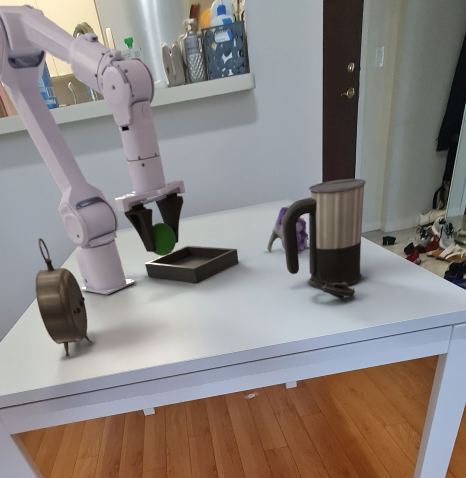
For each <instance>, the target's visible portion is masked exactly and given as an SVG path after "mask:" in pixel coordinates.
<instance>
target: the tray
mask: <svg viewBox="0 0 466 478" xmlns="http://www.w3.org/2000/svg"><path fill="white" fill-rule="evenodd" d="M238 254H239V253H238V249H237V248H229V247H228V248H227V247H216V246H215V247H214V246H200V245H199V246H197V245H185V246H183V247H180V248H178V249H176V250H173V251H172V252H171V253H169V254H168V255H165V256H159V257H157V258H154V259H152V260H149V261H147V262H144V266H145V269H146V274H147V277H148V278H155V279H156V278H157V279H162V280H163V279H164V280H171V281H178V282H186V283H193V284H198V283H201V282H202V281H204V280H206V279H208V278H210V277H212V276H214V275H216V274H219V273H221V272H223V271H225V270H226V269H227V270H228V269H229V268H231V267H233V266H235V265H237V264H239V255H238Z"/></svg>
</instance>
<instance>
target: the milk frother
mask: <svg viewBox="0 0 466 478" xmlns="http://www.w3.org/2000/svg"><path fill="white" fill-rule="evenodd" d="M366 184H367V180H365V179H362V178H345V179H336V180H329V181H324V182H320V183H316V184H313V185H311V186H309V187H308V190H309V191H310V195H311V196H310V197H306V198H302V199H298V200H296V201H294V202H293V203H292V204H290V205H289V208H288V207H287V208H288V209H287V211H286V212H285V214H284V217H283V236H284V245H285V249H284V253H285V262H286V269H287V271H288V272H289V273H290V274H291V275H296V274H298V273H299V270H300V261H299V251H298V246H297V234H296V223H297V220H298V219H299V217H300V218H301V217H302V216H304V215H306V214H308V242H309V243H308V244H309V245H308V247H309V249H308V250H309V251H308V253H309V255H308V256H309V262H308V263H309V268H308V269H309V274H310V279H309V278H308V281H307V284H308V285H309V286H310V287H312V288H314V289H317V290H319V291H323V293H327V294H329V295H331V296H333V297H336V298H338V299H339V300H341V301H343V300H344V298H345V297H353V296H354V295H355V292H356V290H355V287H350V285H353V284H355V283H357V282H359V281H360V280H361V278H362V274H361V253H362V252H361V250H362V249H361V247H362V233H363V231H362V230H363V229H362V228H363V215H364V214H363V211H364V193H365V185H366Z"/></svg>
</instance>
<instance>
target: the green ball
mask: <svg viewBox="0 0 466 478" xmlns="http://www.w3.org/2000/svg"><path fill="white" fill-rule="evenodd" d="M152 225H153V233H154V238H155V243H156V251H155V252H153V253H154V254H155V255H156V256H157V255H158V256H159V257H161V256H165V255H168V254H169V253H171V252H173V251H174V249H175V248H176V244H177V243H176V237H175V233H174V231H173V230H172V228H171V227H170V226H169V225H167V224H165V223H164V222H161V221H160V222H155V223H154V224H153V223H152Z"/></svg>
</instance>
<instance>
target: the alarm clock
mask: <svg viewBox="0 0 466 478" xmlns="http://www.w3.org/2000/svg"><path fill="white" fill-rule="evenodd" d="M37 241H38V248H39V251H40V254H41V257H42V258H43V260H44V263H45V264H46V268H47V269H39V271H38V272H37V273H36V276H35V284H34V285H35V286H34V287H35V298H36V302H37V307H38V310H39V314H40V317H41V320H42V322H43V325H44V328H45V330H46V332H47V334H48V336H49V337H50V339H51V340H52V341H53V342H54V343H56V344H57V345H61V344H63V348H64V351H65V357H66V358H69V357H70V356H71V355H70V352H69V344H72V343H80V342H82V341H84V339H86V341H87V342H88V343H91V344H92V343H93V341H92V340H91V339H90V337H89V336H88V315H87V314H88V313H87V308H86V302H85V300H86V298H85V297H84V296H83V292H82V290H81V287H80V285H79V282H78V279H76V277H75V275H74V274H73V272H71V271H70V270H69V269H67V268H66V267H59V268H58V267H57V268H54V266H53V264H52V262H53V261H52V259H51V256H50V252H49V249H48V247H47V245H46V242H45V241H44V239H42V238H41V237H39V238H38V239H37ZM42 245H43V247H44V249H45V251H46V255H47V258H46V256H45V254H44V251H43V247H42Z"/></svg>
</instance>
